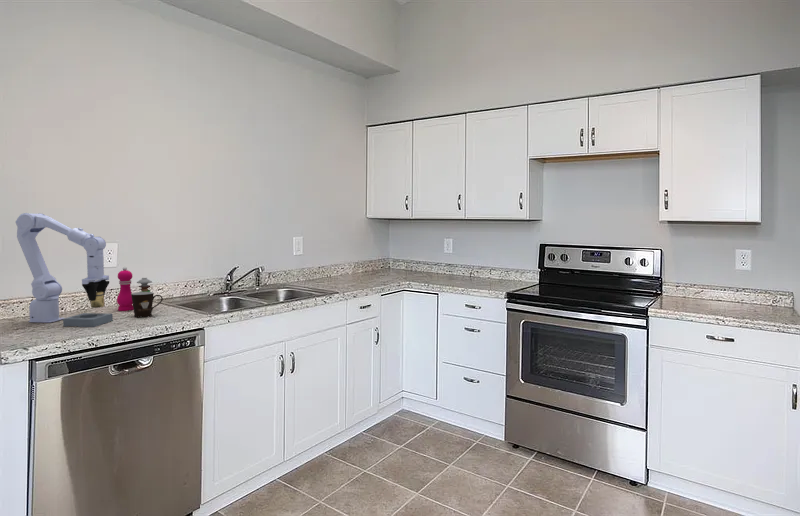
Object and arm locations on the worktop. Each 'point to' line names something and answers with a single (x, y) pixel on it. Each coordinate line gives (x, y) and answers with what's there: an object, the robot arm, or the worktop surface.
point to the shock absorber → (144, 285)
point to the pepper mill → (125, 291)
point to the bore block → (88, 319)
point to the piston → (98, 300)
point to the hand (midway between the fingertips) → (96, 299)
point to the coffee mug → (143, 303)
